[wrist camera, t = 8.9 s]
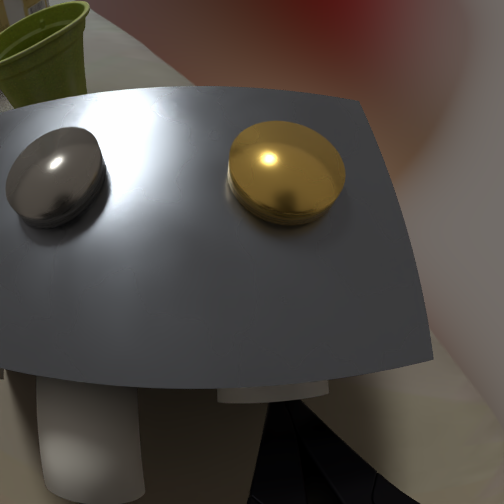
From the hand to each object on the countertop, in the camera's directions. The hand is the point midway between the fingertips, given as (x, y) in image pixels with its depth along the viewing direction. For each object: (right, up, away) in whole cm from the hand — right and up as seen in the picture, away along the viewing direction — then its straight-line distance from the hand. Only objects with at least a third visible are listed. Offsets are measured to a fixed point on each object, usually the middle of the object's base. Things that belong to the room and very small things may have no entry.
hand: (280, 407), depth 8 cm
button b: (-6, -2, 0) cm, 6 cm away
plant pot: (-18, +17, +13) cm, 28 cm away
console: (-7, +1, +7) cm, 10 cm away
